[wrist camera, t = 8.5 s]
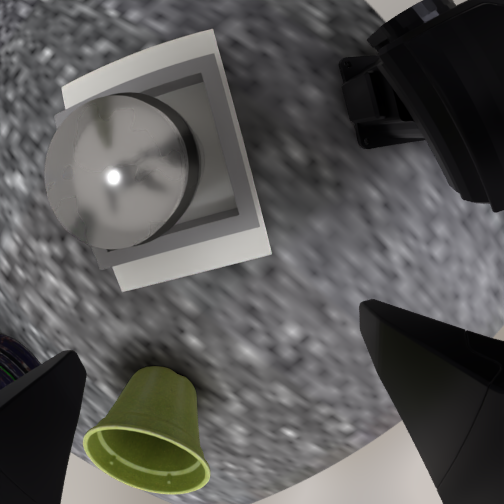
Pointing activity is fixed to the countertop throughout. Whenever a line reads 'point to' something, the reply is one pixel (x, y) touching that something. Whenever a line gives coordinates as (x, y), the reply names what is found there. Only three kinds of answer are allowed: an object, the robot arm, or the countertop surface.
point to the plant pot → (152, 435)
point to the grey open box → (216, 162)
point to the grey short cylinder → (122, 170)
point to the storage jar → (14, 360)
